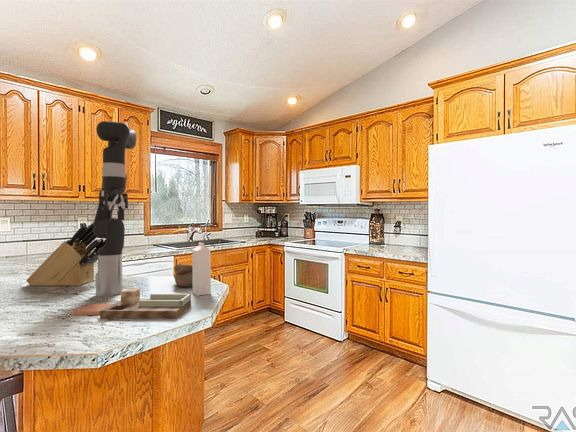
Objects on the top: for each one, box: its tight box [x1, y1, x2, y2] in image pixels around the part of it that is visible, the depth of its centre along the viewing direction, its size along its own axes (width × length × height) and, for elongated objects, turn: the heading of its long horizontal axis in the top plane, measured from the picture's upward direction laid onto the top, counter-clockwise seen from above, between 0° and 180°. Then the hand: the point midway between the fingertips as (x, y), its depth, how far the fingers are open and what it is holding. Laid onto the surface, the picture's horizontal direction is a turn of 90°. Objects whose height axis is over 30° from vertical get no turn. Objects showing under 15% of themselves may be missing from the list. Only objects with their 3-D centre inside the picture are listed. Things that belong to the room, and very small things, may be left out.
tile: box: [73, 303, 114, 316], centre depth 110 cm, size 9×9×1 cm
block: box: [120, 287, 141, 304], centre depth 111 cm, size 4×4×4 cm
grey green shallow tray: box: [139, 293, 192, 307], centre depth 111 cm, size 15×9×2 cm, turn 89°
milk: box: [191, 241, 212, 297], centre depth 133 cm, size 6×6×22 cm
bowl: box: [173, 263, 193, 288], centre depth 147 cm, size 18×14×10 cm
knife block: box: [25, 221, 106, 287], centre depth 153 cm, size 11×35×31 cm, turn 90°
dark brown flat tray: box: [99, 298, 192, 320], centre depth 108 cm, size 26×14×2 cm, turn 89°
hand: (114, 220), depth 114 cm, fingers open, 8 cm apart
